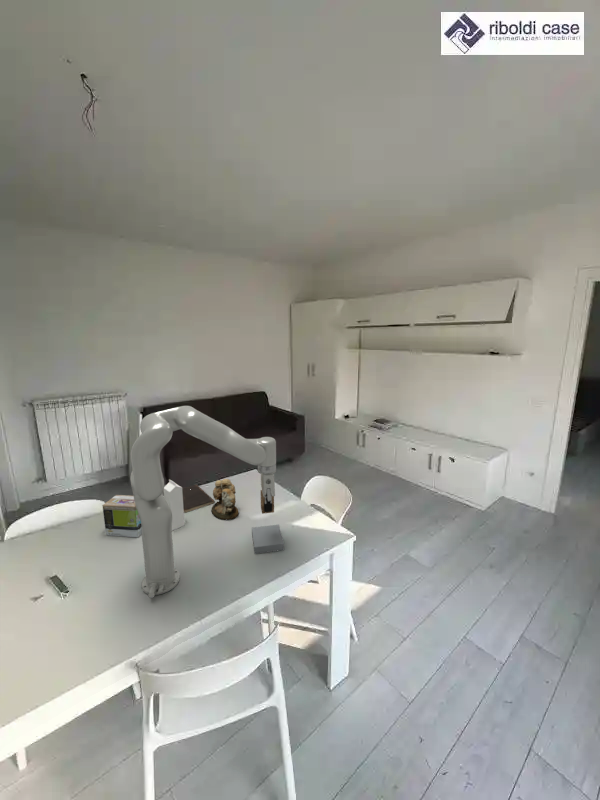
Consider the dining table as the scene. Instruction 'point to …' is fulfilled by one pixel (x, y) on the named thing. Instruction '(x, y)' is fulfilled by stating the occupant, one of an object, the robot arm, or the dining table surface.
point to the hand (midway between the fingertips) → (267, 507)
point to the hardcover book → (195, 498)
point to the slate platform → (267, 539)
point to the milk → (175, 503)
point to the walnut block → (264, 502)
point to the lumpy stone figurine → (224, 500)
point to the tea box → (122, 517)
